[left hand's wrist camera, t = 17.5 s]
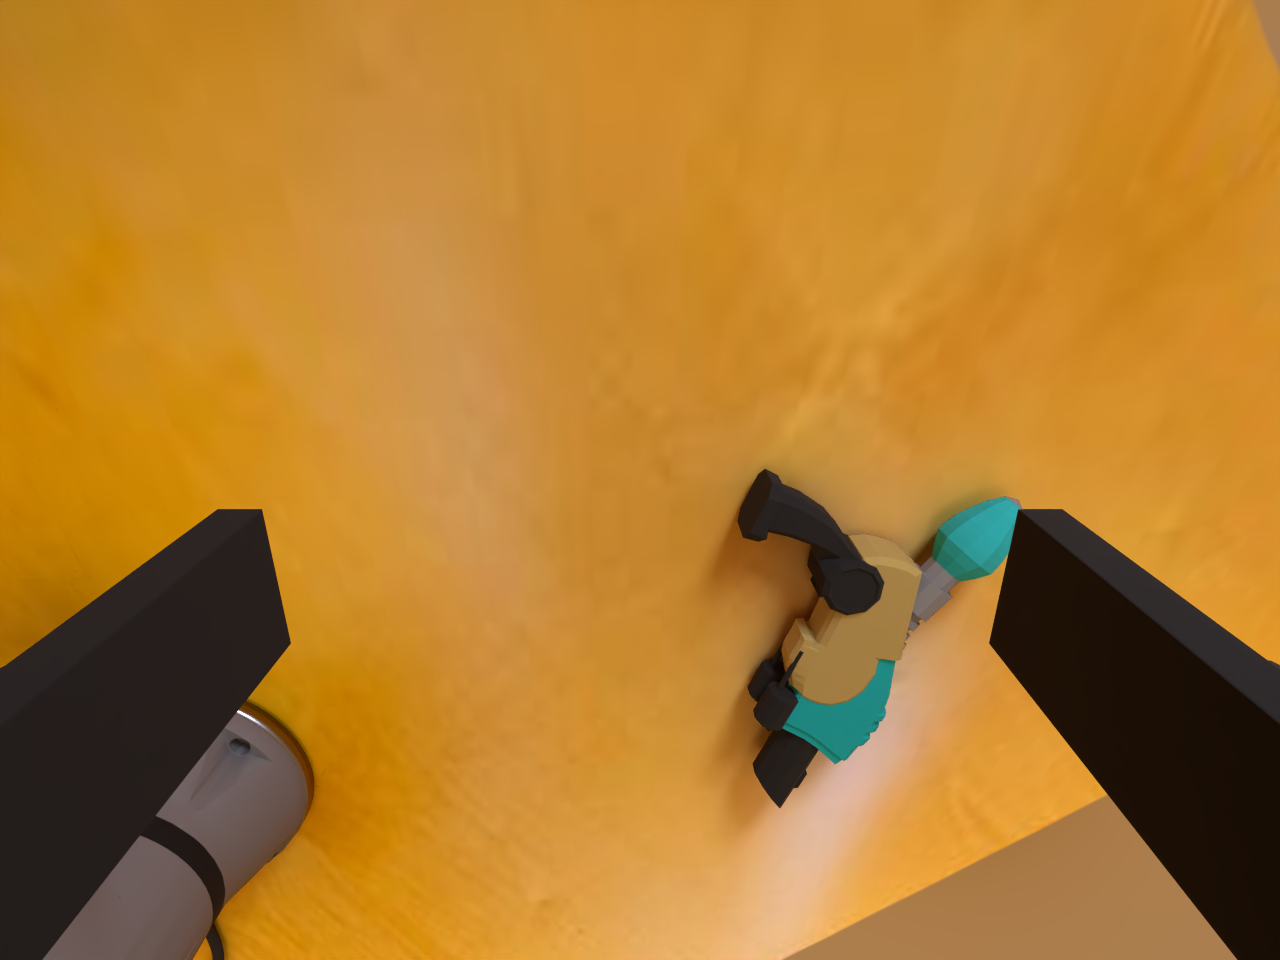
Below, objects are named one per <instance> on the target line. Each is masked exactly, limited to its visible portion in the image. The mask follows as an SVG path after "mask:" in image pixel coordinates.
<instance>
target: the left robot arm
mask: <svg viewBox="0 0 1280 960" xmlns="http://www.w3.org/2000/svg"><path fill="white" fill-rule="evenodd" d="M290 644H291V642H290V637H289V633H288V628H287V623H286V619H285V614H284V609H283V605H282V600H281V595H280V591H279V586H278V582H277V577H276V572H275V568H274V563H273V558H272V554H271V549H270V544H269V540H268V535H267V531H266V526H265V521H264V517H263V512H262V509H217V510H216V511H215V512H213V513H212V514H211V515H209V516H208V517H207V518H205V519H204V520H203V521H201V522H200V523H198V524H197V525H196V526H194V527H193V528H192V529H190V530H189V531H188V532H186V533H185V534H184V535H182V536H181V537H179V538H178V539H177V540H175V541H174V542H173V543H171V544H170V545H169V546H167V547H166V548H164V549H163V550H162V551H160V552H159V553H158V554H156V555H155V556H154V557H152V558H151V559H150V560H148V561H147V562H145V563H144V564H143V565H141V566H140V567H139V568H137V569H136V570H135V571H133V572H132V573H131V574H129V575H128V576H126V577H125V578H124V579H122V580H121V581H120V582H118V583H117V584H116V585H114V586H113V587H112V588H110V589H109V590H107V591H106V592H105V593H103V594H102V595H101V596H99V597H98V598H97V599H95V600H94V601H93V602H91V603H90V604H88V605H87V606H86V607H84V608H83V609H82V610H80V611H79V612H78V613H76V614H75V615H73V616H72V617H71V618H69V619H68V620H67V621H65V622H64V623H63V624H61V625H60V626H59V627H57V628H56V629H54V630H53V631H52V632H50V633H49V634H48V635H46V636H45V637H44V638H42V639H41V640H40V641H38V642H37V643H35V644H34V645H33V646H31V647H30V648H29V649H27V650H26V651H25V652H23V653H22V654H21V655H19V656H18V657H16V658H15V659H14V660H12V661H11V662H10V663H8V664H7V665H6V666H4V667H2V668H0V960H193V958H194V956H195V955H196V953H197V951H198V949H199V948H200V946H201V944H202V942H203V941H204V939H205V937H206V938H207V941H208V943H209V945H210V948H211V951H212V955H213V960H224V952H223V946H222V942H221V939H220V937H219V934H218V932H217V930H216V927H215V925H214V922H215V920H216V918H217V917H218V915H219V913H220V912H221V910H222V908H223V907H224V905H225V904H226V903H227V902H228V901H229V900H230V899H231V898H232V897H233V896H234V895H235V894H236V893H237V892H238V891H239V890H240V889H241V888H242V887H243V886H244V885H245V884H246V883H247V882H248V881H249V880H250V879H251V878H252V877H253V876H254V875H255V874H256V873H257V872H258V871H259V870H260V869H261V868H262V867H263V866H264V865H265V864H266V863H268V862H269V861H270V860H271V859H273V858H274V857H275V856H276V855H278V854H279V853H280V852H281V851H282V850H283V849H284V848H285V847H286V846H287V844H288V843H289V842H290V841H291V839H292V838H293V837H294V835H295V834H296V833H297V831H298V830H299V828H300V826H301V824H302V822H303V820H304V819H305V817H306V815H307V813H308V811H309V809H310V806H311V804H312V800H313V794H314V779H313V773H312V769H311V766H310V763H309V761H308V758H307V756H306V754H305V752H304V751H303V749H302V747H301V746H300V744H299V743H298V741H297V740H296V739H295V738H294V736H293V735H292V734H291V733H290V732H289V731H288V730H287V729H286V728H285V727H284V726H283V725H282V724H281V723H280V722H279V721H277V720H276V719H275V718H274V717H272V716H271V715H269V714H268V713H267V712H265V711H263V710H262V709H260V708H259V707H257V706H255V705H253V704H251V703H249V702H247V701H246V700H247V699H248V697H249V696H250V695H251V693H252V692H253V691H254V690H255V688H256V687H257V686H258V685H259V683H260V682H261V681H262V679H263V678H264V677H265V676H266V674H267V673H268V672H269V671H270V669H271V668H272V667H273V665H274V664H275V663H276V662H277V660H278V659H279V658H280V657H281V655H282V654H283V653H284V651H285V650H286V649H287V648H288V646H289V645H290ZM989 644H990V645H991V646H992V648H993V649H994V650H995V651H996V653H997V654H998V655H999V657H1000V658H1001V659H1002V660H1003V662H1004V663H1005V664H1006V665H1007V667H1008V668H1009V669H1010V671H1011V672H1012V673H1013V674H1014V676H1015V677H1016V678H1017V679H1018V681H1019V682H1020V683H1021V685H1022V686H1023V687H1024V688H1025V690H1026V691H1027V692H1028V693H1029V695H1030V696H1031V697H1032V699H1033V700H1034V701H1035V702H1036V704H1037V705H1038V706H1039V707H1040V709H1041V710H1042V711H1043V713H1044V714H1045V715H1046V716H1047V718H1048V719H1049V720H1050V721H1051V723H1052V724H1053V725H1054V727H1055V728H1056V729H1057V730H1058V732H1059V733H1060V734H1061V736H1062V737H1063V738H1064V739H1065V741H1066V742H1067V743H1068V744H1069V746H1070V747H1071V748H1072V750H1073V751H1074V752H1075V753H1076V755H1077V756H1078V757H1079V758H1080V760H1081V761H1082V762H1083V764H1084V765H1085V766H1086V767H1087V769H1088V770H1089V771H1090V772H1091V774H1092V775H1093V776H1094V778H1095V779H1096V780H1097V781H1098V783H1099V784H1100V785H1101V786H1102V788H1103V789H1104V790H1105V792H1106V793H1107V794H1108V795H1109V797H1110V798H1111V799H1112V800H1113V802H1114V803H1115V804H1116V806H1117V807H1118V808H1119V809H1120V811H1121V812H1122V813H1123V814H1124V816H1125V817H1126V818H1127V819H1128V821H1129V822H1130V823H1131V825H1132V826H1133V827H1134V828H1135V830H1136V831H1137V832H1138V834H1139V835H1140V836H1141V837H1142V839H1143V840H1144V841H1145V842H1146V844H1147V845H1148V846H1149V848H1150V849H1151V850H1152V851H1153V853H1154V854H1155V855H1156V857H1157V858H1158V859H1159V860H1160V862H1161V863H1162V864H1163V865H1164V867H1165V868H1166V869H1167V871H1168V872H1169V873H1170V874H1171V876H1172V877H1173V878H1174V879H1175V881H1176V882H1177V883H1178V885H1179V886H1180V887H1181V888H1182V890H1183V891H1184V892H1185V894H1186V895H1187V896H1188V897H1189V899H1190V900H1191V901H1192V902H1193V904H1194V905H1195V906H1196V908H1197V909H1198V910H1199V911H1200V912H1201V914H1202V915H1203V916H1204V918H1205V919H1206V920H1207V922H1208V923H1209V924H1210V925H1211V927H1212V928H1213V929H1214V930H1215V932H1216V933H1217V934H1218V936H1219V937H1220V938H1221V939H1222V941H1223V942H1224V943H1225V944H1226V946H1227V947H1228V948H1229V950H1230V951H1231V952H1232V953H1233V955H1234V956H1235V957H1236V958H1237V960H1280V665H1278V664H1276V663H1274V662H1272V661H1268V660H1266V659H1265V658H1264V657H1262V656H1261V655H1259V654H1258V653H1257V652H1255V651H1254V650H1253V649H1251V648H1250V647H1249V646H1247V645H1246V644H1245V643H1243V642H1242V641H1240V640H1239V639H1238V638H1236V637H1235V636H1234V635H1232V634H1231V633H1230V632H1228V631H1227V630H1226V629H1224V628H1223V627H1221V626H1220V625H1219V624H1217V623H1216V622H1215V621H1213V620H1212V619H1211V618H1209V617H1208V616H1207V615H1205V614H1204V613H1202V612H1201V611H1200V610H1198V609H1197V608H1196V607H1194V606H1193V605H1192V604H1190V603H1189V602H1187V601H1186V600H1185V599H1183V598H1182V597H1181V596H1179V595H1178V594H1177V593H1175V592H1174V591H1173V590H1171V589H1170V588H1168V587H1167V586H1166V585H1164V584H1163V583H1162V582H1160V581H1159V580H1158V579H1156V578H1155V577H1154V576H1152V575H1151V574H1149V573H1148V572H1147V571H1145V570H1144V569H1143V568H1141V567H1140V566H1139V565H1137V564H1136V563H1135V562H1133V561H1132V560H1130V559H1129V558H1128V557H1126V556H1125V555H1124V554H1122V553H1121V552H1120V551H1118V550H1117V549H1116V548H1114V547H1113V546H1111V545H1110V544H1109V543H1107V542H1106V541H1105V540H1103V539H1102V538H1101V537H1099V536H1098V535H1096V534H1095V533H1094V532H1092V531H1091V530H1090V529H1088V528H1087V527H1086V526H1084V525H1083V524H1082V523H1080V522H1079V521H1077V520H1076V519H1075V518H1073V517H1072V516H1071V515H1069V514H1068V513H1067V512H1065V511H1064V510H1063V509H1018V512H1017V517H1016V521H1015V526H1014V531H1013V535H1012V540H1011V544H1010V549H1009V554H1008V558H1007V563H1006V568H1005V572H1004V577H1003V582H1002V586H1001V591H1000V595H999V600H998V605H997V609H996V614H995V619H994V623H993V628H992V633H991V637H990V642H989Z"/></svg>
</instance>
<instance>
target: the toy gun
mask: <svg viewBox="0 0 1280 960" xmlns="http://www.w3.org/2000/svg"><path fill="white" fill-rule="evenodd" d="M1018 509H1022V507H1021V504H1020V502H1019V500H1017V499H1013V498H1009V497H1006V496H1005V497H1001V498H996V499H992V500H988V501H985V502H982V503H980V504H978V505H976V506H973V507H971V508H969V509H966V510H964V511H962V512H960V513H958V514H957V515H955V516H953V517H952V518H951V519H949V520H948V521H947V522H945V523H944V524H943V525H942V526H941V527H940V528H939V529H938V532H937V535H936V538H935V542H934V547H933V552H932V556H931V557H930V558H929V559H928V560H927V561H926V562H925V563H924V564H923V565H922V566H920V565H918V564H917V563H914V562H913V560H912V559H911V558H910V556H909V555H908V554H907V553H906V551H905V550H904V549H902V548H901V547H899V546H898V545H897V544H895V543H894V542H892V541H890V540H887V539H884V538H881V537H877V536H872V535H866V534H860V535H850V536H848V535H845V534H843V533H842V531H841V530H840V528H839V526H838V525H837V523H836V522H835V521H834V519H833V518H832V517H831V516H830V515H829V513H828V512H827V511H826V510H825V509H824V507H822V506H821V505H819V504H818V503H817V502H815V501H814V500H812V499H811V498H809V497H808V496H806V495H805V494H803V493H802V492H800V491H798V490H796V489H793V488H791V487H788V486H786V485H784V484H782V482H781V481H780V479H779V477H778V475H776V474H774V473H772V472H770V471H768V470H766V469H764V470H763V471H762V472H761V473H759V474H758V476H757V477H756V479H755V481H754V483H753V485H752V487H751V489H750V491H749V493H748V495H747V496H746V498H745V500H744V502H743V504H742V506H741V509H740V513H739V517H738V524H739V527H740V530H741V533H742V536H743V538H747V539H751V540H754V541H762V540H766V539H767V534H768V532H771V533H775V534H780V535H784V536H788V537H791V538H794V539H797V540H800V541H803V542H806V543H808V544H811V547H812V548H811V550H810V555H809V560H808V567H809V569H810V571H811V573H812V575H813V576H812V577H811V579H810V580H811V582H812V584H813V586H814V588H815V590H816V592H817V593H818V595H819V597H820V598H819V600H818V602H817V604H816V606H815V608H814V610H813V613H812V615H811V617H810V619H809V620H807V621H804V618H796V619H795V621H794V624H793V625H792V627H791V629H790V631H789V632H788V634H787V636H786V637H785V639H784V641H783V643H782V645H781V646H780V648H779V650H778V652H777V653H776V655H775V657H774V658H773V660H768V659H766V660H764V661H763V662H762V663H761V665H760V667H759V668H758V670H757V672H756V673H755V675H754V677H753V679H752V680H751V682H750V684H749V685H748V690H749V693H750V695H751V696H752V697H753V698H754V700H755V701H757V702H758V703H757V705H756V706H755V708H754V710H753V711H754V715H755V718H756V719H757V721H758V722H759V723H760V724H761V725H762V726H764V727H765V728H766V729H767V730H769V731H770V730H773V732H772V733H771V735H770V736H769V738H768V740H767V741H766V743H765V745H764V746H763V748H762V749H761V751H760V753H759V754H758V756H757V757H756V759H755V761H754V762H753V767H754V772H755V774H756V776H757V778H758V779H759V781H760V783H761V785H762V786H763V788H764V789H765V791H766V792H767V793H768V795H769V796H770V798H771V799H772V800H773V801H774V802H775V804H776V805H777V806H778V807H779V808H781V806H782V805H783V803H784V802H785V800H786V799H787V797H788V796H789V794H790V793H791V791H792V790H793V788H798V787H799V785H800V784H801V782H802V781H803V779H804V778H805V776H806V775H807V772H806V768H807V767H808V765H809V764H810V762H811V761H812V759H813V758H814V756H815V755H816V753H817V751H818V750H820V751H821V752H822V753H823V754H824V755H826V756H827V757H828V758H829V759H830V760H831V761H832V762H833V763H834V764H836V763H838V762H839V761H841V760H843V761H844V760H846V759H847V758H848V757H849V756H850V755H851V754H852V753H853V751H854V750H855V749H856V748H857V747H858V746H862V745H864V744H865V743H866V742H867V741H868V740H869V739H870V733H872V732H875V731H876V729H877V728H878V726H879V722H880V721H882V720H883V718H884V717H885V714H886V711H885V705H886V703H887V700H888V697H889V694H890V688H891V682H892V677H893V671H894V666H895V661H896V660H900V659H901V655H902V651H903V649H904V648H905V646H906V644H905V640H906V639H907V638H908V637H909V636H910V635H909V634H908V632H907V631H909V630H912V631H914V630H915V629H916V628H917V627H918V626H919V625H920V623H919V622H918V621H919V620H920V619H922V620H924V621H925V622H926V621H927V620H928V619H929V618H930V617H931V616H932V615H934V614H935V613H936V612H937V611H938V610H939V609H940V608H941V607H942V606H943V605H944V604H946V603H947V602H948V601H949V600H950V599H951V598H952V596H951V594H950V593H949V591H950V590H951V589H952V588H953V587H954V586H955V585H956V584H957V583H958V582H960V581H965V580H971V579H976V578H980V577H983V576H987V575H990V574H992V573H993V572H994V571H995V570H996V569H997V568H998V566H999V565H1000V564H1001V563H1002V561H1003V560H1004V559H1005V557H1006V556H1007V554H1008V553H1009V549H1010V544H1011V540H1012V535H1013V531H1014V526H1015V521H1016V517H1017V512H1018ZM781 656H783V662H784V665H783V664H781V663H779V662H778V661H779V659H780V658H781Z"/></svg>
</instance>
